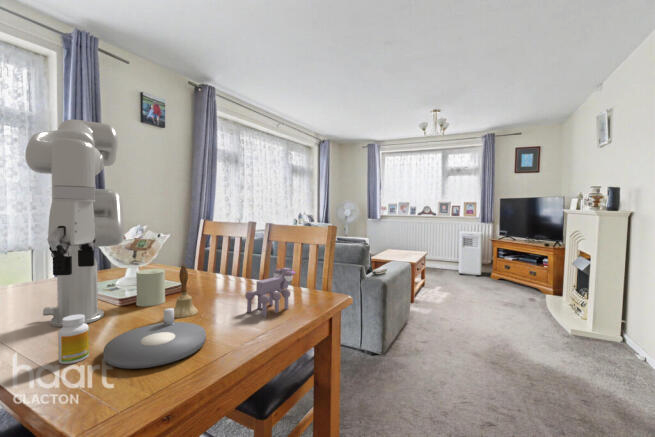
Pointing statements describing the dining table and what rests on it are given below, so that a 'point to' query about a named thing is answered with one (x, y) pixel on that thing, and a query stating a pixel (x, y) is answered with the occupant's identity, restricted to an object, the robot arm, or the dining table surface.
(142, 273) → the can
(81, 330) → the supplement bottle
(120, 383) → the dining table surface
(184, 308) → the hand bell
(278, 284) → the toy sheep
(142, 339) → the turntable
